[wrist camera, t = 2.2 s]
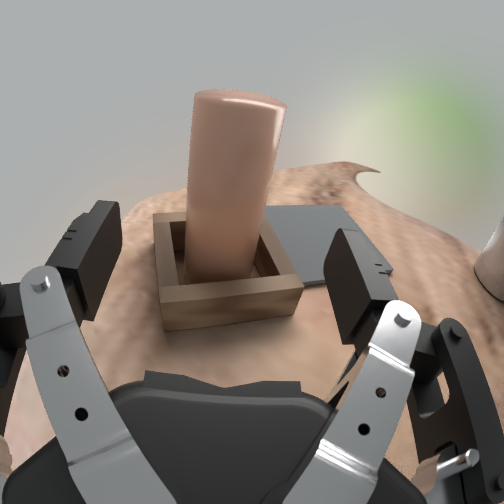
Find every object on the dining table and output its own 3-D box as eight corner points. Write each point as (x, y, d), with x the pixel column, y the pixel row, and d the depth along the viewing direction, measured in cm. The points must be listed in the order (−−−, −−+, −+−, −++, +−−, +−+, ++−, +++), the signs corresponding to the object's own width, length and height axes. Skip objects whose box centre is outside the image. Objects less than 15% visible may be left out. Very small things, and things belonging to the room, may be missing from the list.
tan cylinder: (250, 303, 26) (293, 116, 16) (180, 297, 26) (187, 103, 15) (248, 242, 33) (277, 91, 23) (191, 236, 32) (204, 82, 22)
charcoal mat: (339, 208, 42) (340, 205, 41) (391, 273, 33) (393, 269, 32) (251, 210, 38) (252, 206, 37) (291, 287, 29) (292, 283, 28)
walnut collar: (255, 235, 34) (261, 208, 32) (293, 314, 26) (304, 286, 24) (154, 242, 30) (152, 213, 28) (163, 331, 23) (160, 303, 20)
